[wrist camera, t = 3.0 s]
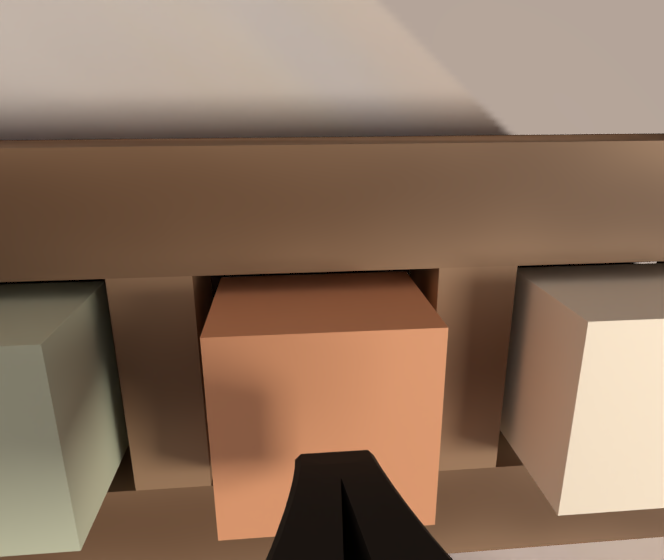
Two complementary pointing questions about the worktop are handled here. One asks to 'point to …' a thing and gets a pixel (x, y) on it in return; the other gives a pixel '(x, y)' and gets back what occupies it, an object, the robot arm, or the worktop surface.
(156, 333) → the slotted board
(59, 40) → the worktop surface
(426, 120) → the worktop surface
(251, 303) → the salmon pink cube
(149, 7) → the worktop surface
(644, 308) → the ivory cube
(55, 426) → the block
